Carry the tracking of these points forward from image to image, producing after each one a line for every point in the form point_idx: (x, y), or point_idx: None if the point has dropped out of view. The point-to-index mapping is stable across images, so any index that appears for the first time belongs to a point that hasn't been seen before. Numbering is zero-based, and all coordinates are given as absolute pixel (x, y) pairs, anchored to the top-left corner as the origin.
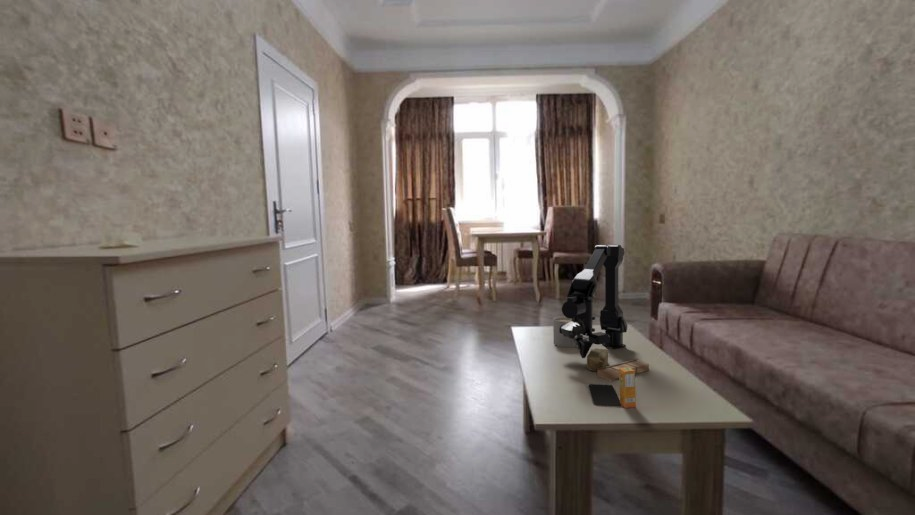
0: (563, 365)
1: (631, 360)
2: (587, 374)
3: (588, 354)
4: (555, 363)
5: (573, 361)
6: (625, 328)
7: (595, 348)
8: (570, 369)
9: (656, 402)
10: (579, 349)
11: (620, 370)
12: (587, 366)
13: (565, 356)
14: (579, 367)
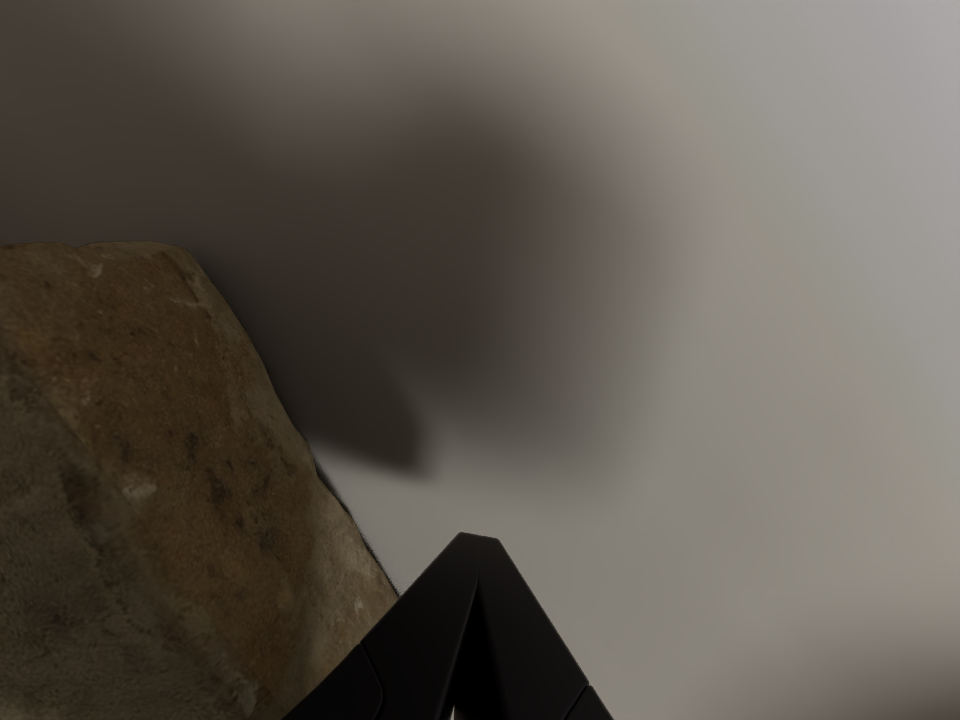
0: (635, 143)
1: None
2: (49, 68)
3: (94, 477)
4: (820, 120)
5: (630, 451)
6: None
7: None
8: (407, 52)
9: None
10: (542, 653)
11: None
12: (144, 247)
13: (876, 562)
14: (374, 273)
